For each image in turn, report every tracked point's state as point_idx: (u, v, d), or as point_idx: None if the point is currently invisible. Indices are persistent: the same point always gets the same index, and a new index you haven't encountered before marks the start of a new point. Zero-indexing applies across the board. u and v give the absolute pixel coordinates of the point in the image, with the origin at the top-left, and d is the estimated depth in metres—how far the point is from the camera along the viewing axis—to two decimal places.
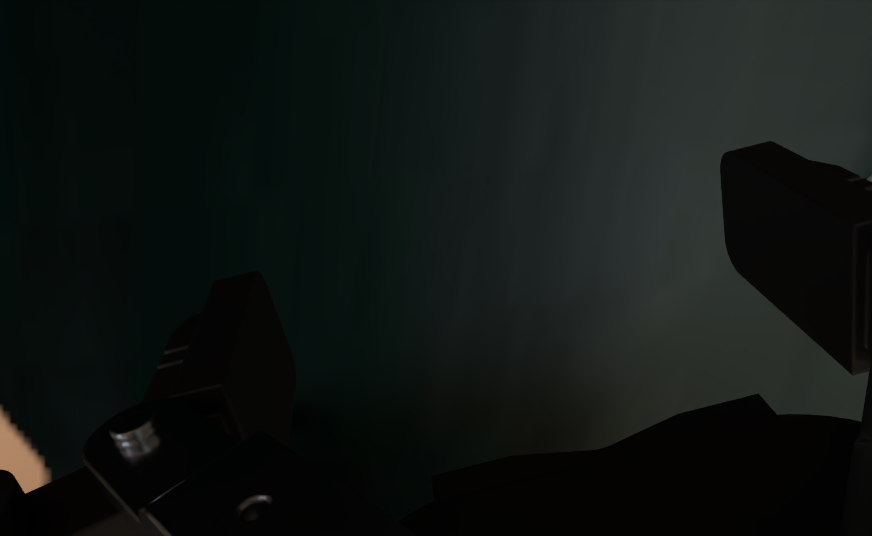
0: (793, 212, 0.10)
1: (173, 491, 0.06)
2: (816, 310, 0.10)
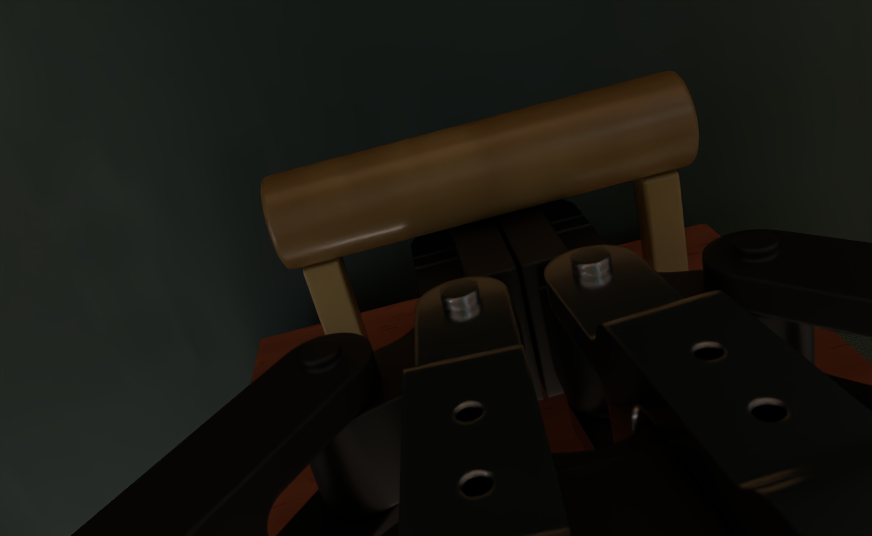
0: None
1: (430, 365, 0.07)
2: None
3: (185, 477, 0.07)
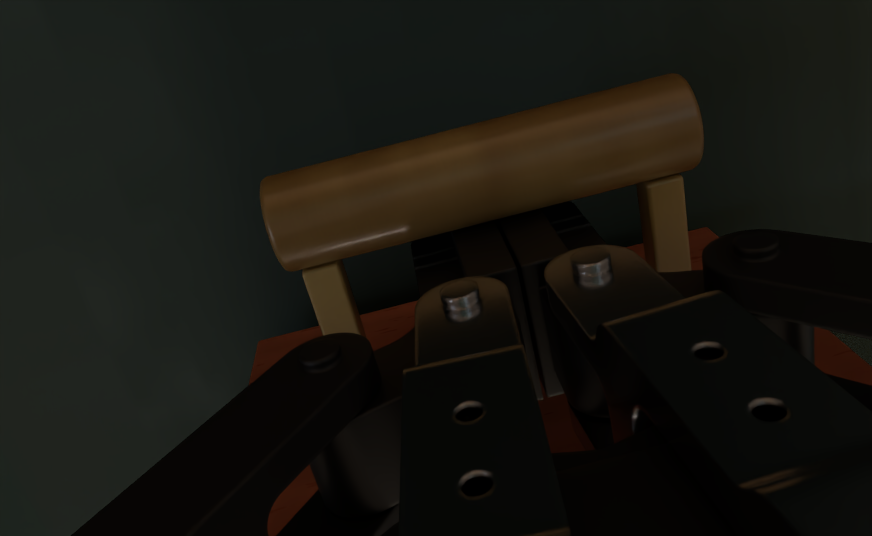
0: None
1: (430, 365, 0.07)
2: None
3: (185, 477, 0.07)
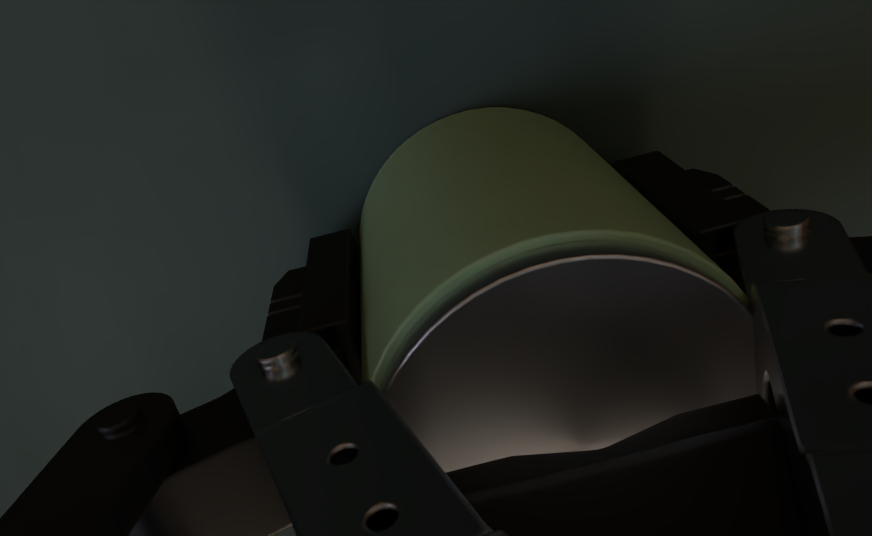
0: None
1: (283, 422, 0.07)
2: None
3: None
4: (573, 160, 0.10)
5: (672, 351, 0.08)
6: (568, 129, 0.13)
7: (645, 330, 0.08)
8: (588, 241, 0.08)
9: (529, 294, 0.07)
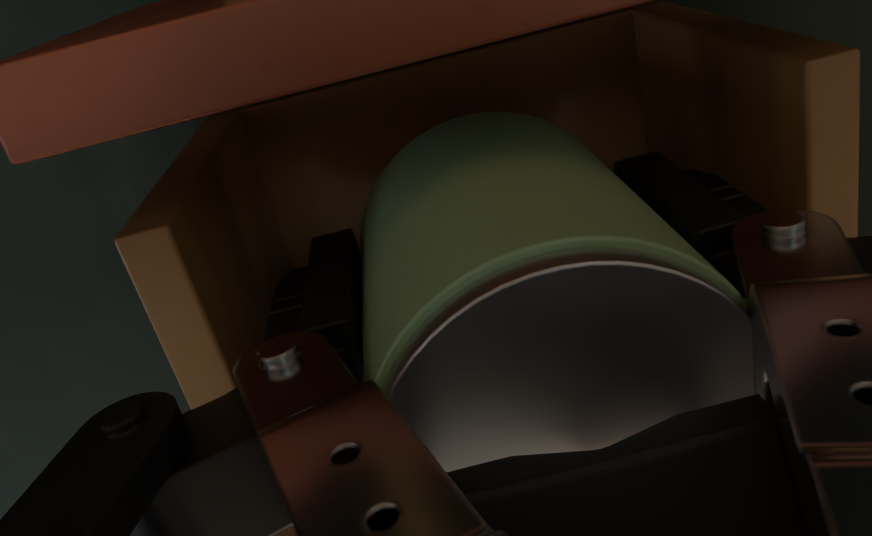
0: None
1: (285, 421, 0.07)
2: None
3: None
4: (574, 165, 0.10)
5: (672, 357, 0.08)
6: (569, 133, 0.13)
7: (645, 336, 0.08)
8: (589, 248, 0.08)
9: (530, 300, 0.07)
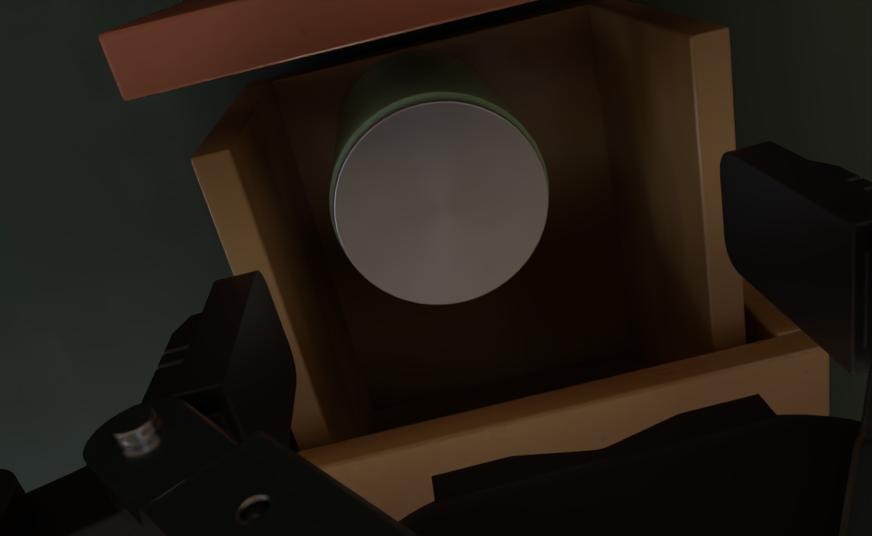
0: (792, 212, 0.10)
1: (174, 491, 0.06)
2: (816, 310, 0.10)
3: None
4: (454, 72, 0.18)
5: (485, 155, 0.15)
6: (468, 65, 0.21)
7: (469, 142, 0.15)
8: (441, 97, 0.15)
9: (409, 120, 0.15)
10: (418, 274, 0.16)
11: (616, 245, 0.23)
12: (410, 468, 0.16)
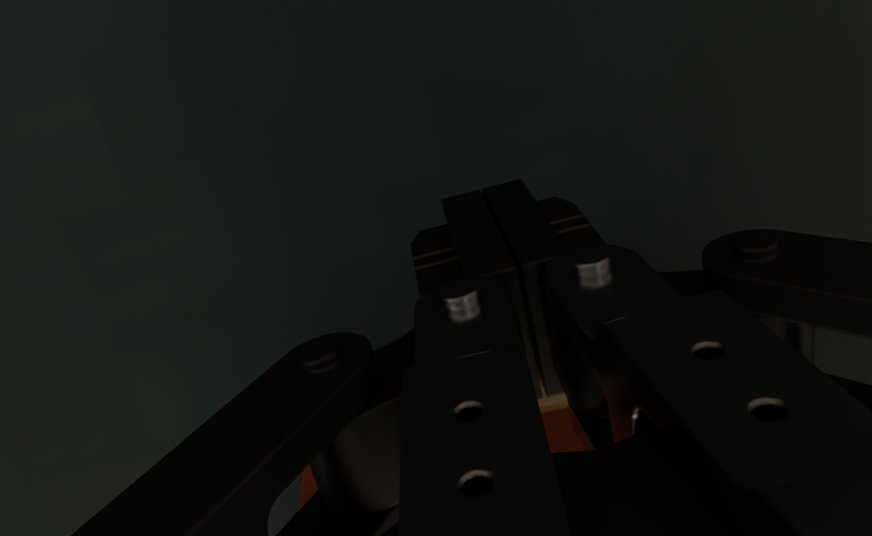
0: None
1: (430, 365, 0.07)
2: None
3: (185, 477, 0.07)
4: None
5: None
6: None
7: None
8: None
9: None
10: None
11: None
12: None
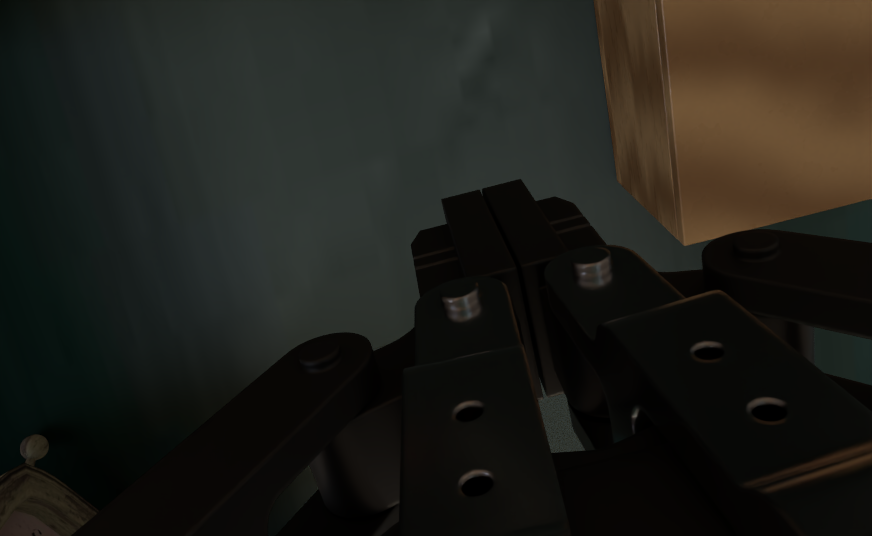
0: None
1: (430, 366, 0.07)
2: None
3: (185, 477, 0.07)
4: None
5: None
6: None
7: None
8: None
9: None
10: None
11: None
12: None
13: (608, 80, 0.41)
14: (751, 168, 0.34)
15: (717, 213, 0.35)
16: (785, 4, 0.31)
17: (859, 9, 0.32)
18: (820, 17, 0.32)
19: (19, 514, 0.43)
